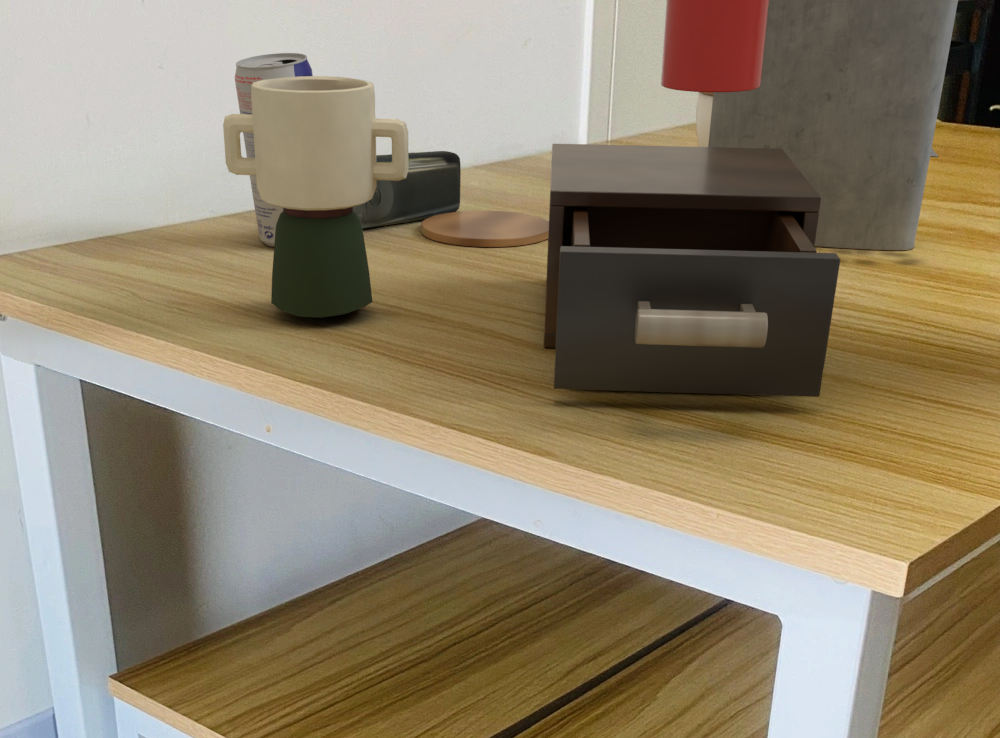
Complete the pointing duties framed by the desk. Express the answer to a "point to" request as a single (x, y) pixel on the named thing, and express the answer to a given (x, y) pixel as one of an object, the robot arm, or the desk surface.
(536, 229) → the coaster
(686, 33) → the tin
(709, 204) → the cabinet
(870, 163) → the grey upright slab
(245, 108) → the energy drink
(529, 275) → the desk surface
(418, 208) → the dark grey stapler
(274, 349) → the desk surface
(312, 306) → the beige green vessel
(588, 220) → the drawer
